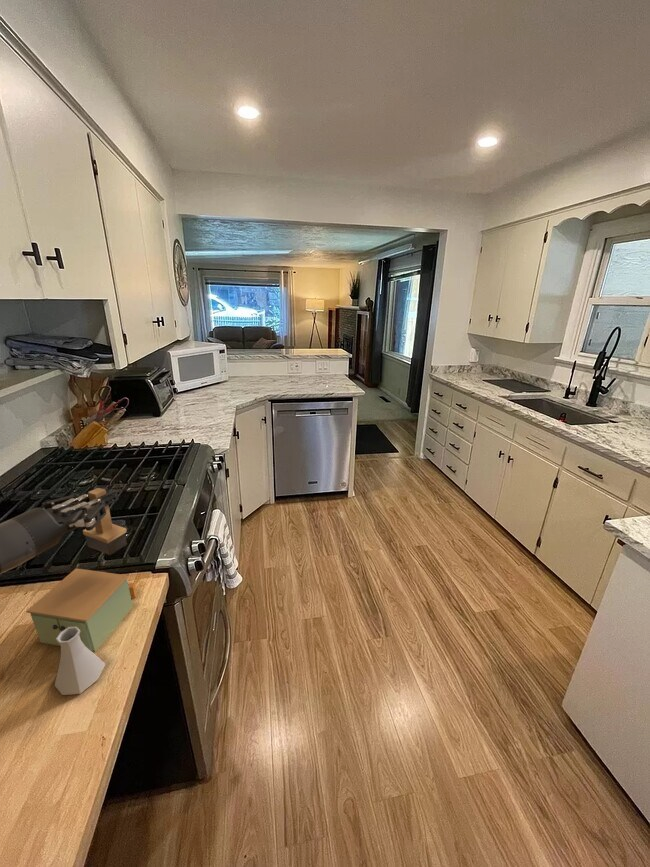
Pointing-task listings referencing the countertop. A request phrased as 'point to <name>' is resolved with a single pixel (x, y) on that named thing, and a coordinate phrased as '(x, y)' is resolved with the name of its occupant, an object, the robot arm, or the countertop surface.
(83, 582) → the cabinet
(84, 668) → the flask
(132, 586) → the block
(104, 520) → the brush
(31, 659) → the countertop surface
